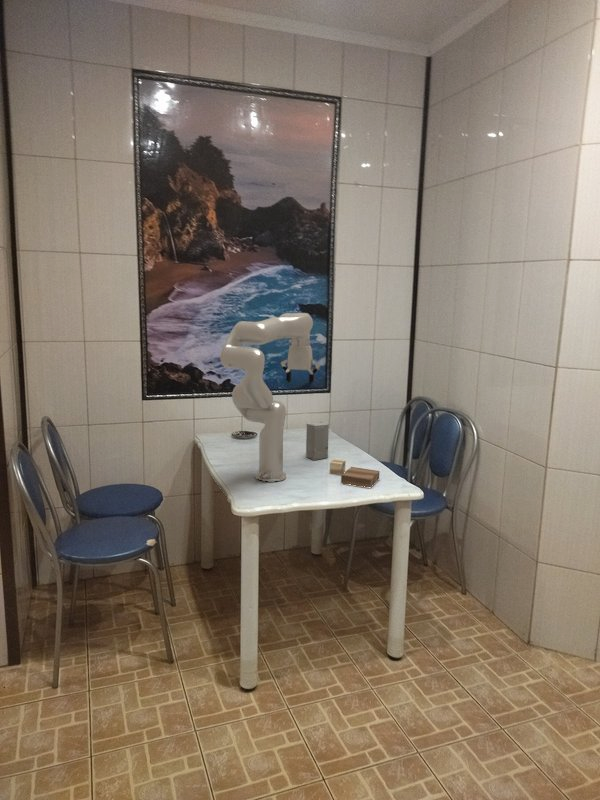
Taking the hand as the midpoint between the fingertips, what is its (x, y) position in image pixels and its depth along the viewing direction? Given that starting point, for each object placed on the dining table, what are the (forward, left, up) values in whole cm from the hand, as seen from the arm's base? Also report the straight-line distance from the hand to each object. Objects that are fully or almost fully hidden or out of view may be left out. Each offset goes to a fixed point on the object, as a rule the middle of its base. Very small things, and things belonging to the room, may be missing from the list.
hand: (300, 382), depth 252 cm
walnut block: (-12, -32, -36) cm, 50 cm away
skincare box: (+10, -4, -36) cm, 37 cm away
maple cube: (-6, -20, -36) cm, 41 cm away
